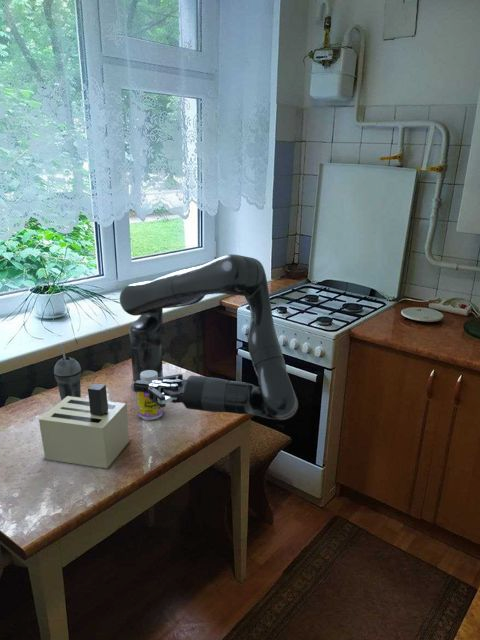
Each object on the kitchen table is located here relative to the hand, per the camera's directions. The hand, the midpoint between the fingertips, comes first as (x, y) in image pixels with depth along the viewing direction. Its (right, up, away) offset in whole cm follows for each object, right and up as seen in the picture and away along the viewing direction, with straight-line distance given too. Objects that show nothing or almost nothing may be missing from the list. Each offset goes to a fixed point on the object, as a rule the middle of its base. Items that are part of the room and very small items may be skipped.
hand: (135, 385), depth 113 cm
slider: (-10, -7, +5) cm, 13 cm away
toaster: (-14, -17, +10) cm, 24 cm away
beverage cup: (-25, -9, +29) cm, 39 cm away
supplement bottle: (-2, -10, +27) cm, 29 cm away
